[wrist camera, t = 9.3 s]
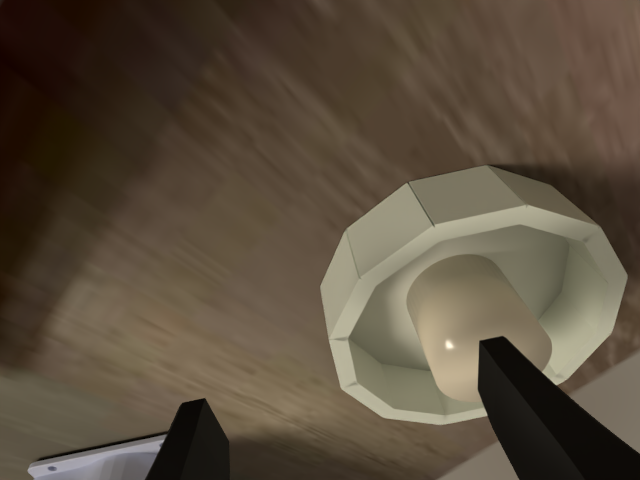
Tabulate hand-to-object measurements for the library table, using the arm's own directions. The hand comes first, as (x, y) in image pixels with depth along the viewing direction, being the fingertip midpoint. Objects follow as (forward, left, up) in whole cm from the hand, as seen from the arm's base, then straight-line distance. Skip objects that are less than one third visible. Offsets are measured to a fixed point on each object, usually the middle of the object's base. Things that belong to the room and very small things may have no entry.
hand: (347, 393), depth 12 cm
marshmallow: (+6, -6, -9) cm, 12 cm away
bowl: (+6, -6, -9) cm, 13 cm away
